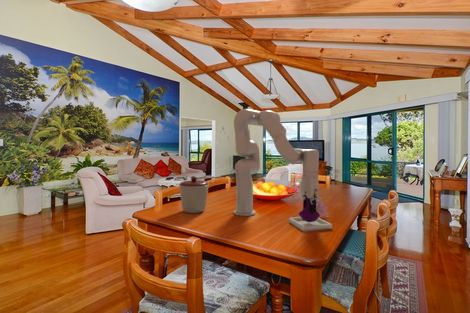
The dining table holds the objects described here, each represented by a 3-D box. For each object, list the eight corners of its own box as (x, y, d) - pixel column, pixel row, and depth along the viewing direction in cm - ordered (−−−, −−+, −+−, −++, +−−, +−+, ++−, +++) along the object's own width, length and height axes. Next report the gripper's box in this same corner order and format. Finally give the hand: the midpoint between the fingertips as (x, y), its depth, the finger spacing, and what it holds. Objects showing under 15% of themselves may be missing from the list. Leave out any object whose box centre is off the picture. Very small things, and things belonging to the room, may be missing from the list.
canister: (172, 213, 147) (172, 177, 146) (187, 206, 165) (187, 173, 164) (201, 216, 142) (201, 179, 141) (213, 208, 159) (213, 175, 158)
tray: (288, 222, 133) (288, 217, 133) (314, 219, 137) (314, 215, 137) (303, 231, 119) (304, 226, 118) (331, 229, 122) (332, 224, 122)
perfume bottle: (309, 224, 123) (310, 186, 122) (298, 219, 129) (299, 184, 128) (320, 221, 126) (321, 185, 125) (309, 217, 133) (309, 183, 132)
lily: (305, 219, 141) (313, 206, 137) (303, 206, 152) (310, 193, 147) (326, 226, 142) (334, 213, 137) (322, 212, 152) (329, 200, 148)
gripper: (295, 172, 134) (294, 206, 135) (313, 176, 117) (312, 215, 118) (307, 172, 136) (306, 205, 137) (327, 176, 119) (326, 214, 120)
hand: (309, 209), depth 127 cm, fingers closed on perfume bottle, 5 cm apart
